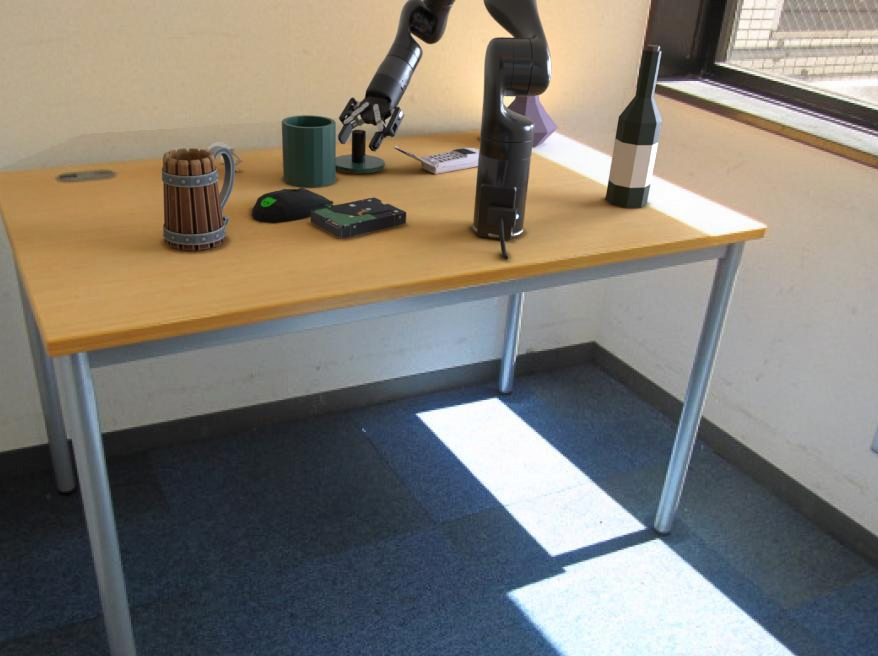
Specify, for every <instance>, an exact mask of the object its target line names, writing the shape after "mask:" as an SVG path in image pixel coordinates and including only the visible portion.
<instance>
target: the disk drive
mask: <svg viewBox="0 0 878 656" xmlns="http://www.w3.org/2000/svg"><path fill="white" fill-rule="evenodd" d="M309 218H310V223H311V224H313V225H314V226H315V227H317V228H319V229H321V230H323V231H324V232H327V233H329V234H330V235H332V236H334V237H337V238H338V239H348V238H353V237H357V236H362V235H366V234H370V233H374V232H379V231H384V230H389V229H392V228H397V227H400V226H403V225H405V224H406V223H407V211H406V210H403V209H401V208H398V207H396V206H394V205H392V204H390V203H383V202H382V200H381V199H379V198H377V197H368V198H363V199H359V200H353V201H349V202H344V203H339V204H333V206H330V207H323V208H319V209H314V210H310V217H309Z"/></svg>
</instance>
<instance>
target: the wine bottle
mask: <svg viewBox="0 0 878 656" xmlns="http://www.w3.org/2000/svg"><path fill="white" fill-rule="evenodd" d="M662 52H663V51H662V50H661V46H660V45H658V44H646V45H645V48H644V49H642V54H641V61H640V66H639V72H638V78H637V85H636V90H635V95H634V97H632V99H631V101H629V103H628V104H627V105H626V107H625V108H624V110H622V112H621V113H620V114H619V116H618V118H617V119H618V120H617V125H616V130H615V132H616V133H615V137H614V144H613V150H612V156H611V161H610V167H609V173H608V174H609V175H608V180H607V187H606V193H605V199H604V200H605V201H606V202H607V203H608V204H609V205H612V206H616V207H619V208H624V209H641V208H643V207H645V206H646V205H647V204H648V199H649V195H650V188H651V183H652V178H653V173H654V167H655V162H656V157H657V151H658V147H659V146H658V145H659V140H660V136H661V131H662V124H663V118H662V116H661V113H660V110H659V108H658V105H657V103H656V102H657V101H656V100H655V98H654V97H655V90H656V85H657V79H658V75H659V69H660V63H661V57H662Z"/></svg>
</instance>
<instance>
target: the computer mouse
mask: <svg viewBox="0 0 878 656" xmlns="http://www.w3.org/2000/svg"><path fill="white" fill-rule="evenodd" d="M255 201H256V202H255V203H254V205H253V207H252V209H251V217H252V220H254V221H257V222H259V223H265V224H280V223H281V224H282V223H289V222H294V221H295V222H296V221H301V220H304V219H305V220H306V219H309V218H310V210H314V209H319V208H323V207H330V206H333V205H334V201H333V200H330V199H328V198H327V197H325V196H324V195H321V194H319V193H317V192H314V191H312V190H310V189H307V188H306V187H298V188H282V189H279V190H274V191H269V192H267V193H264V194H262V195H260V196H258V197H257V199H256V200H255Z"/></svg>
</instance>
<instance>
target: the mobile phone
mask: <svg viewBox="0 0 878 656" xmlns="http://www.w3.org/2000/svg"><path fill="white" fill-rule="evenodd" d="M393 147H394V149H395V150H396V151H398V152H400V153H402V154H404V155H406V156H408V157H410V158H412V159H414V160H415V161H417V162H420V166H421V169H423V170H425V171H426V172H429V173H432V174H433V175H437V174H444V173H449V172H454V171H455V172H456V171H460V170H466V169H471V168H476V167H478V158H479V149H478V148H473V147H460V148H459V147H458V148H454V149H452V150H451V151H447V152H441V153H436V154H432V155H427V156H421V157H420V156H418V155H416V154H415V153H413V152H409V151H406V150H404V149H403V148H402V149H401V147H398V146H397V145H394V146H393Z"/></svg>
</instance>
